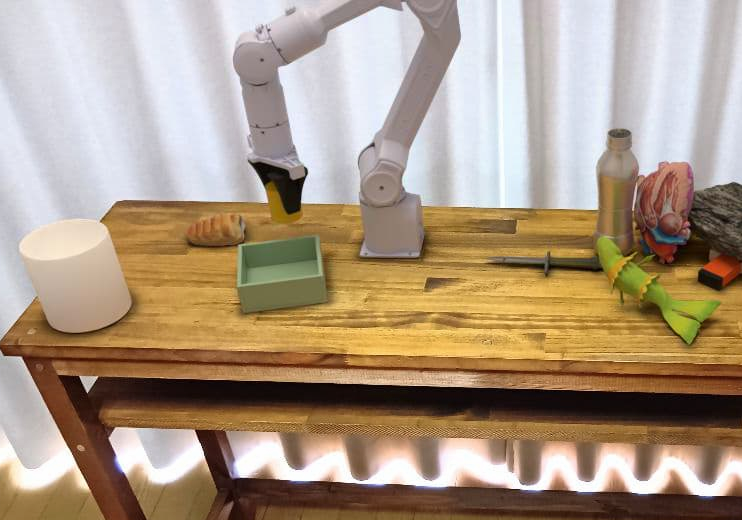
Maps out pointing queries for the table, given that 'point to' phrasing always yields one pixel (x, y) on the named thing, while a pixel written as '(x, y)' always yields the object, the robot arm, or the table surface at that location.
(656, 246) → the anatomical model
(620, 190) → the plastic bottle
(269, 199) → the pepper
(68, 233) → the cup
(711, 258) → the toy
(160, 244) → the table surface
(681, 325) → the toy
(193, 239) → the pastry
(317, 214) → the table surface
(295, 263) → the basket
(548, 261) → the knife
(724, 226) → the rock
